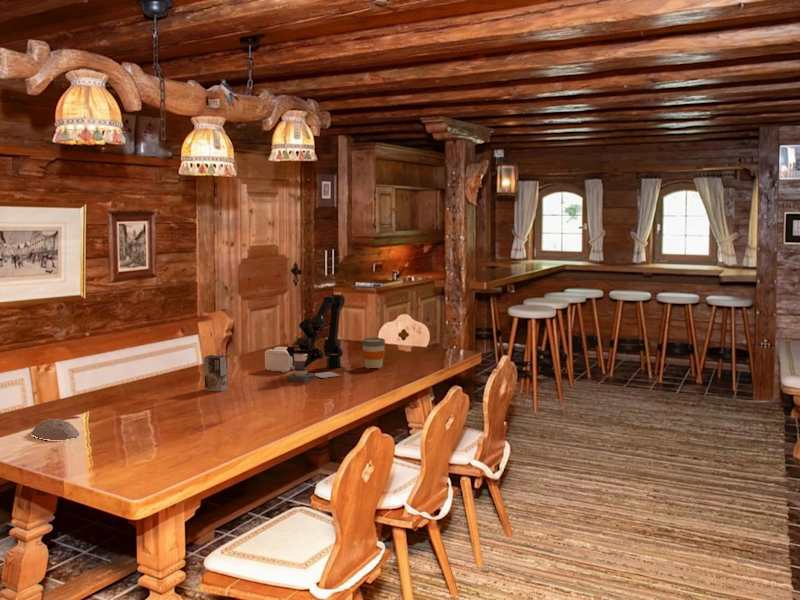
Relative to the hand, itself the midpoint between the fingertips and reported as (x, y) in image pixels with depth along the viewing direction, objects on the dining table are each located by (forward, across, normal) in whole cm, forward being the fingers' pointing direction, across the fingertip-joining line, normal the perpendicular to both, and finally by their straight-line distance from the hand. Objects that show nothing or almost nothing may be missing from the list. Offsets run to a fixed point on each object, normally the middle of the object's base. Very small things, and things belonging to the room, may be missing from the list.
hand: (299, 366), depth 388 cm
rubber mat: (-5, +7, +16) cm, 18 cm away
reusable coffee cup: (-26, +20, +37) cm, 49 cm away
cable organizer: (-8, -22, +18) cm, 30 cm away
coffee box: (+29, -25, -18) cm, 43 cm away
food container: (+90, -36, -78) cm, 124 cm away
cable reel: (+4, 0, +6) cm, 7 cm away
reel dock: (+4, 0, +6) cm, 7 cm away
